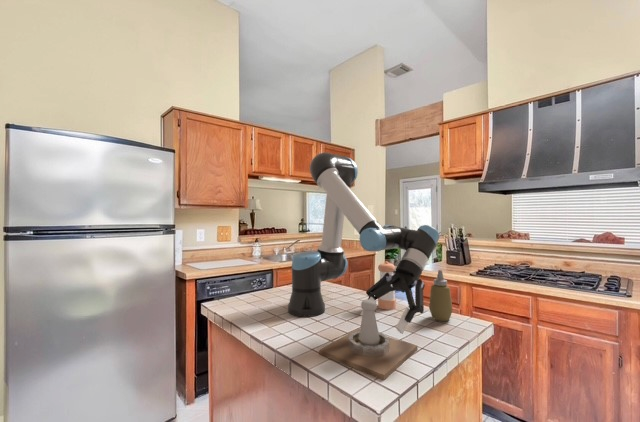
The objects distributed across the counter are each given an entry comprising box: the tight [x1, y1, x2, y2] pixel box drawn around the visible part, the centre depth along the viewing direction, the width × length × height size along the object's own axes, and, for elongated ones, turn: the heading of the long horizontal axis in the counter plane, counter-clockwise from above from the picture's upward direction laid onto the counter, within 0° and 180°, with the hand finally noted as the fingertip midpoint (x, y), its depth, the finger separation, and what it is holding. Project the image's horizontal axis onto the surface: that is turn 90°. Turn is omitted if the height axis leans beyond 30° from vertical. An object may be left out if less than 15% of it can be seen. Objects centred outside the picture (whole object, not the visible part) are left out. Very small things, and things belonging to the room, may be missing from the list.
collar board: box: [318, 327, 418, 381], centre depth 81 cm, size 20×20×4 cm
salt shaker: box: [359, 298, 380, 346], centre depth 82 cm, size 6×6×13 cm
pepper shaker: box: [377, 261, 397, 311], centre depth 122 cm, size 7×7×19 cm
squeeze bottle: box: [428, 269, 453, 322], centre depth 108 cm, size 8×8×18 cm
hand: (380, 323), depth 84 cm, fingers open, 13 cm apart
